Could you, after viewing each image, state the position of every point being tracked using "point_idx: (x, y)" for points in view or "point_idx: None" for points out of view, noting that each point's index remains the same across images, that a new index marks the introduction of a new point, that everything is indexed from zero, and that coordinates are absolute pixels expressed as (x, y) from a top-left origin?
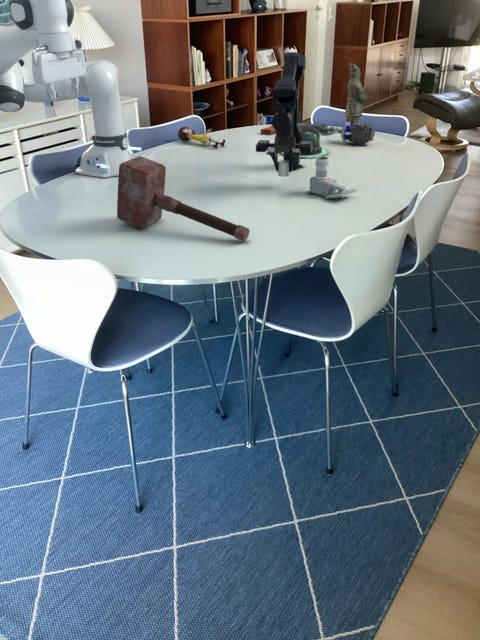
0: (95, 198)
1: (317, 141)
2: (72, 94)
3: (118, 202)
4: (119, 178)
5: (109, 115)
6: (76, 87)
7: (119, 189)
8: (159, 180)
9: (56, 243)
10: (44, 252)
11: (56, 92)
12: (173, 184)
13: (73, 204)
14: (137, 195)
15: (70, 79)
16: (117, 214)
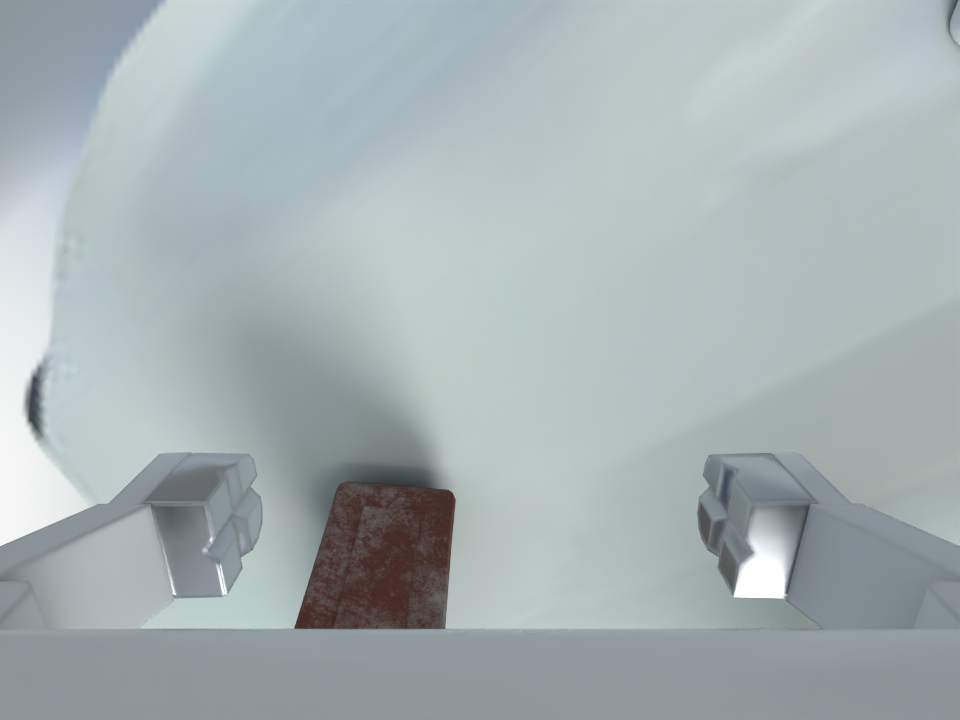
0: (602, 202)
1: None
2: (705, 476)
3: (323, 535)
4: (294, 628)
5: None
6: (797, 606)
7: (308, 584)
8: None
9: (126, 364)
10: (51, 375)
11: (218, 581)
12: (855, 424)
13: (497, 153)
14: None
15: (953, 623)
16: (335, 495)
